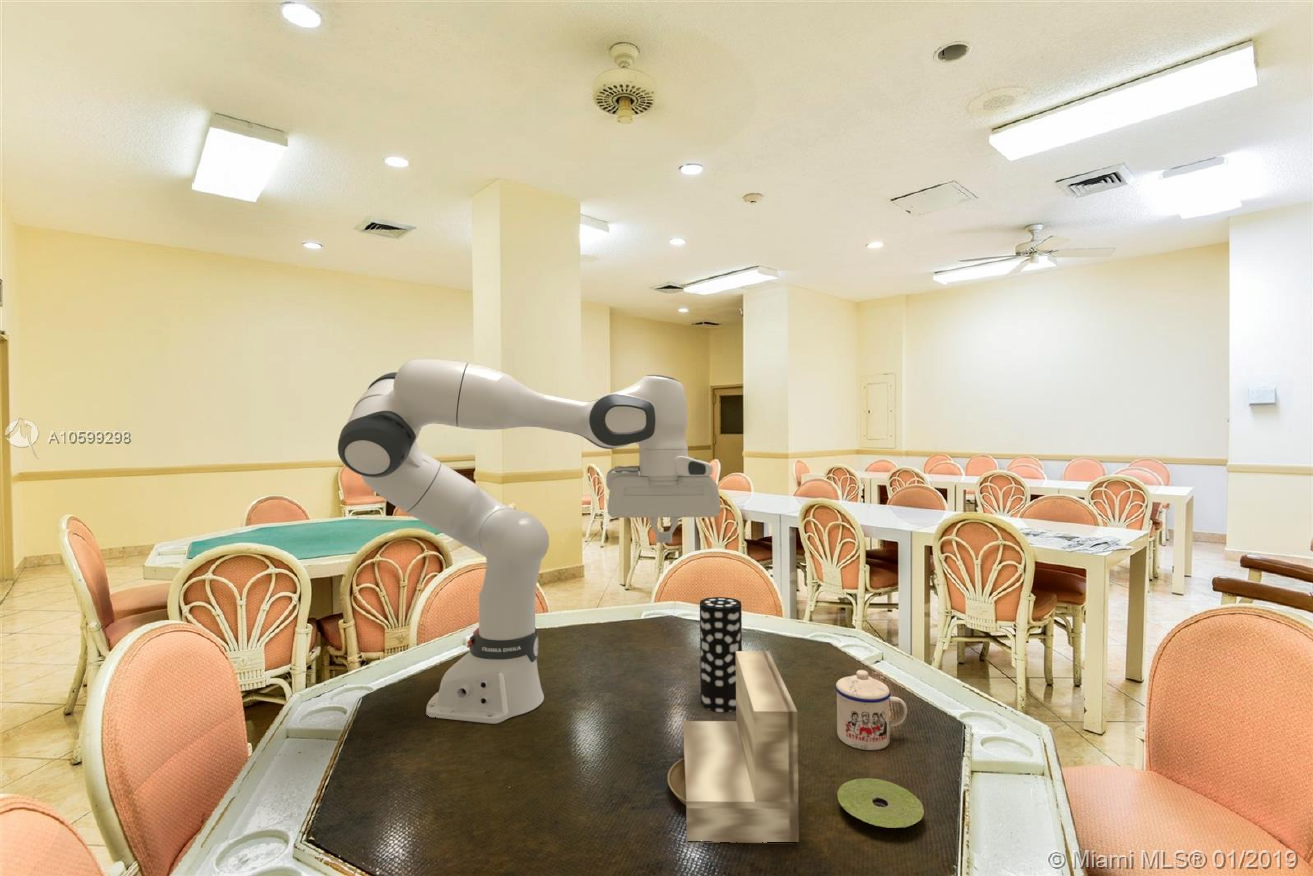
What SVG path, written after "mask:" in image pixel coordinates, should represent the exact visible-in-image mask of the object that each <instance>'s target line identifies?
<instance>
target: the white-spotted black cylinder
mask: <svg viewBox="0 0 1313 876" xmlns="http://www.w3.org/2000/svg"><path fill="white" fill-rule="evenodd" d="M742 605H743V604H742V601H740V600H739V599H737V598H732V597H726V596H725V597H724V596H713V597H706V598H703V599H701V600H699V646H700V647H699V650H700V651H699V652H700V653H699V656H700V657H699V663H700V665H699V666H700V668H699V669H700V671H699V673H700V676H699V678H700V705H701V706H702V707H703V708H705V709H706V710H708V711H712V712H717V713H730V712H736V651H743V638H742V637H743V633H742V630H743V629H742V628H743V626H742V623H743V621H742V618H743V616H742V614H743V613H742Z"/></svg>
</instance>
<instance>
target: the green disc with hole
mask: <svg viewBox="0 0 1313 876" xmlns="http://www.w3.org/2000/svg"><path fill="white" fill-rule="evenodd" d="M836 795H837V800H838V803H839V804H840V806H841V807H842V808H843V809H844V810H845V811H846V812H847V813H848V814H850V815H851V816H852V817H855V818H856V819H859V820H861V821H862V822H864V823H868V824H870V825H873V826H876V827H882V828H895V829H896V828H908V827H910V826H913V825H914V824H916V823H918V822H919V821H921V820H922V819H923V816H924V815H925V814H924V813H925V810H924V805H923V803H922V802H921V800H920V799H919V798H918V797H917V796H916V795H914V794H913V792H911V791H909V790H908V789H906V788H905V787H902V786H900V785H899V784H896V783H893V782H891V781H887V780H883V779H879V778H870V777H867V778H862V777H859V778H855V779H852V780H848V781H845V782H844V783H843V784H841V785H840V786H839V787H838V790H837V792H836Z"/></svg>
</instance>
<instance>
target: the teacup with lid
mask: <svg viewBox="0 0 1313 876" xmlns="http://www.w3.org/2000/svg"><path fill="white" fill-rule="evenodd" d="M835 691H836V724H837V725H836V729H837V730H836V732H837V737H838V739H839V740H840V741H841V742H843V744H846V745H847V746H849V747H852V748H854V749H859V750H864V751H877V750H882V749H885V748H886V747H888V746H889V744H890V741H891V740H890V728H892V727H898V726H901V724H903V723H904V721H905V720H906V719H907V715H908V708H907V704H906V703H905V701H904V700H902V699H901V698H899V697H897V696H891V691H890V689H889V687H888V686H887V684H886V683H884V682H882V681H880V680H877V679H876V678H874V677H872V676H870V675H869V672H868V671H867V670H865V669H859V670H857V671H856V674H852V675H851V676H844V677H842V678H840V679H839V680H837V682H836V684H835ZM890 703H896V704H899V705H900V706H901V712H900V714H899V716H898V717H897V718H896V719H893V720H890Z"/></svg>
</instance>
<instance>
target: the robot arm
mask: <svg viewBox="0 0 1313 876" xmlns="http://www.w3.org/2000/svg"><path fill="white" fill-rule="evenodd" d="M688 420H689V419H688V403H687V396H686V391H685V387H684V385H683V384H682V383H681V381H679V380H678V379H675V378H674V377H669V376H667V375H666V376H665V375H660V374H647V375H644V376H643V377H642V378H640V379H639V380H638V381H636V382H635V383H633V384H631V385H629V386H627V387H625V388H622V389H620V390H617V391H614V392H611V393H608V394H605V395H603V396H601V397H600V398H598V399H594V400H590V401H589V400H588V401H580V400H574V399H569V398H564V397H559V396H553V395H548V394H544V393H540V392H538V391H535V390H533V389H531V388H529V387H528V386H526V385H524V384H522V383H521V382H520V381H518V380H517V379H516V378H514V377H513V376H511V375H509V374H507V373H505V372H503V371H500V370H498V369H496V368H492V367H489V366H485V365H480V364H476V363H472V362H466V361H459V360H458V361H457V360H451V359H441V358H439V359H438V358H416V359H415V358H414V359H410V360H407V361H406V362H405V363H403V365H401V366H400V367H399V370H398V371H395V372H393V371H392V372H389V373H385V374H383V375H381V376H379V377H378V378H377V379H375V380H374V381H373V382H371V384H370V385H369V386H368V388H367V390H366V391H365V392H364V393H363V395H362V396H361V397H360V398H359V399H358V400H357V402H356V403H355V405H354V407H353V409H352V412H351V414H350V416H349V418H348V419H347V422H346V424H345V425H344V426H343V428H342V429H341V431H340V434H339V438H338V441H337V442H338V443H337V453H338V456H339V459H340V461H342V463H343V465H345V467H347V469H349V470H350V471H351V472H353V473H356V474H357V475H359V476H361V478H362V480H363V482H364V484H365V485H367V486H368V487H369V488H370V489H371V490H373V492H374V493H376V494H378V495H379V496H380V497H381V498H383V499H384V500H386V501H387V502H388V503H389V504H391V505H393V506H395V507H396V508H398V509H399V510H401V511H403V512H405V513H406V514H409V515H410V516H412V517H414V518H415V519H417V520H419V521H421V522H423V523H424V524H426V525H428V526H430V527H432V528H433V529H435V530H437V531H439V532H440V533H443V534H444V535H446V536H448V537H449V538H451V539H453V540H454V541H457V543H460V544H462V545H463V546H465V547H467V548H469V549H470V550H472V551H475V552H476V553H478V554H479V555H481V556H483V557H485V560H486V564H485V565H486V567H485V572H484V579H483V584H482V587H481V590H480V591H479V594H478V627H477V628H476V629H475V630H474V631H473V632H472V635H471V636H469V639H468V641H467V642H466V643H467V646H466V648H468V649H469V652H467V653H466V654H465V655H463V657H461V658H460V659H458V661H456V662H455V663H454V664H452V665H451V667H449V668H448V669H447V671H446V672H445V673H444V675H443V677H442V678H441V681H440V684H439V690H438V691H437V692H436V693H434V694H433V696H432V697H431V698H430V699H429V701H428V703H427V704H426V707H425V708H426V709H425V710H426V711H425V714H426V716H427V715H428V716H429V717H428V716H427V717H428V718H435V717H436V719H445V720H446V719H447V720H455V721H463V722H464V721H465V722H475V723H483V724H499V723H502V722H504V721H506V720H507V719H510V718H512V717H516V716H519V715H523V714H526V713H528V712H531V711H533V710H535V709H536V708H538V707H539V706H540V705H542V703H543V702H544V700H545V695H544V692H543V689H542V685H541V680H540V676H539V675H540V674H539V670H538V668H539V667H538V660H537V658H538V654H539V636H538V628H537V627H536V591H537V584H538V579H539V578H538V577H539V573H540V569H541V564H542V560H543V559H544V557H545V556H546V554H547V552H548V549H549V545H550V537H549V532H548V530H547V528H546V527H545V525H543V523H542V522H541V521H540V520H539V519H538V518H537V517H536V516H534V515H533V514H531V513H529V512H526V511H522V510H518V509H515V508H512V507H510V506H508V505H505V503H502V502H501V501H500V500H498V499H497V498H495V497H493V496H492V495H491V494H489V493H488V492H486V491H485V490H484V489H482V488H481V487H480V486H479V485H477V484H476V483H475V482H474V481H472V480H470V479H469V478H467V477H465V475H462V474H461V473H458V472H457V471H456V470H454V469H452V468H451V467H449V466H447V464H446V465H445V464H444V463H442V462H441V461H440V460H437V459H436V458H434V457H432V456H431V455H429V454H427V453H426V452H424V450H422V449H421V448H420V447H419V445H418V444H417V443H418V442H417V439H418V438H419V435H420V433H421V430H422V428H423V427H425V426H427V425H431V424H436V425H445V426H450V427H456V428H461V429H462V428H463V429H470V430H484V431H485V430H486V431H487V430H489V431H491V430H494V431H495V430H506V429H515V428H524V427H525V428H526V427H527V428H528V427H529V428H541V429H546V430H551V431H558V432H563V433H569V434H574V435H577V436H581V437H583V438H584V439H586V440H587V441H589V442H590V443H592V444H593V445H595V446H596V447H598V448H602V449H605V450H615V449H618V448H624V447H626V446H628V445H631V444H635V443H636V444H637V445H638V459H639V461H638V464H639V465H628V466H625V465H624V466H622V465H621V466H620V465H616V466H614V467H613V468H611V469H609V470H608V472H606V478H605V479H606V481H605V483H606V484H605V485H606V487H607V489H608V490H609V492H608V500H607V501H608V502H607V513H608V515H609V516H610V517H611V518H612V519H617V518H619V519H621V518H622V519H623V518H624V519H627V518H635V519H636V518H639V519H640V518H643V519H644V518H645V519H647V518H649V524H650V527H651V528H652V530H653V531H654V533H655V536H656V537H655V541H656V543H657V544H659V543H660V544H661V543H663V544H665V543H667V544H668V543H673V533H674V532H675V530H676V528H677V526H678V525H679V518H716V517H718V516H719V515H720V514H721V499H720V498H721V497H720V493H719V486H718V484H717V482H716V480H715V479H714V478H713V477H712V474H713V472H714V470H713V469H714V468H713V465H712V464H711V463H710V462H708V461H704V460H700V459H699V458H697V457H691V456H690V455H689V450H688V449H689V446H688V443H687V438H686V435H687V434H686V432H687V428H688ZM613 471H614V472H613ZM659 518H670V524H671V526H670V529H669V530H668V531H661V530H660V528H659V527H658V526H657V524H658V522H659Z"/></svg>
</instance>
